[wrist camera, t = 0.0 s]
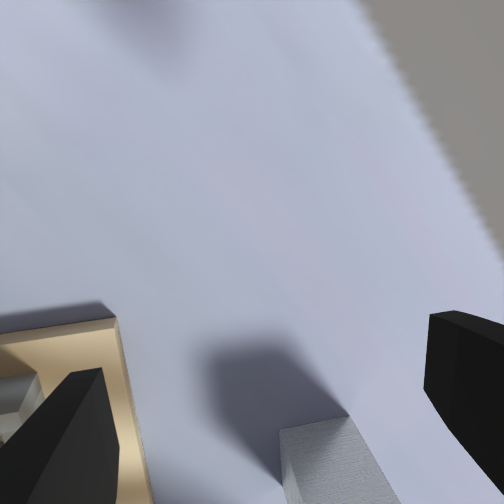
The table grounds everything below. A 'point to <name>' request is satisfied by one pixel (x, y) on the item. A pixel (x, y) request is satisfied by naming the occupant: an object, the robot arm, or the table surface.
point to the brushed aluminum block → (331, 465)
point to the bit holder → (53, 373)
